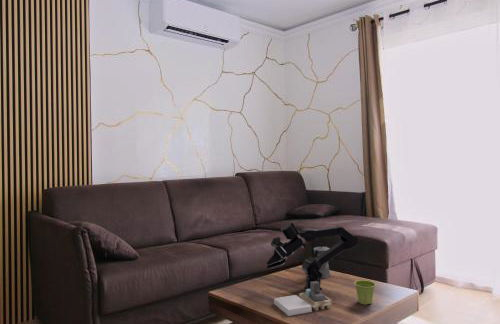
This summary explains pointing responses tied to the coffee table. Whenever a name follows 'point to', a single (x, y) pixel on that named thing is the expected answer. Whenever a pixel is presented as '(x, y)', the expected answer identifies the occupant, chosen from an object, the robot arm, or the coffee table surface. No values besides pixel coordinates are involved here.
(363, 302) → the plant pot
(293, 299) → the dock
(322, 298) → the charcoal block
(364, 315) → the coffee table surface
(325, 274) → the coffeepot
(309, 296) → the teal block
